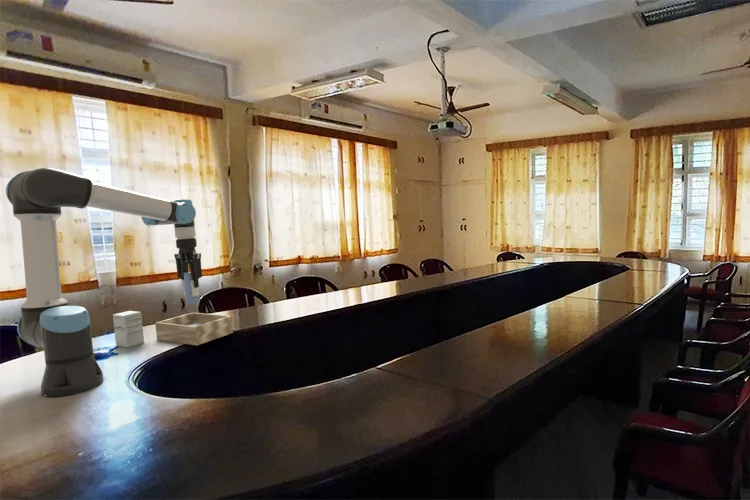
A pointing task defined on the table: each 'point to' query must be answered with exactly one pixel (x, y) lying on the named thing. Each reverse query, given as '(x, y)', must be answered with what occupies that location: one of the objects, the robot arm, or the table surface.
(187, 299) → the peg
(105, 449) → the table surface
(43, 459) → the table surface
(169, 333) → the crate
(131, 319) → the supplement box
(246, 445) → the table surface
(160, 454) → the table surface
